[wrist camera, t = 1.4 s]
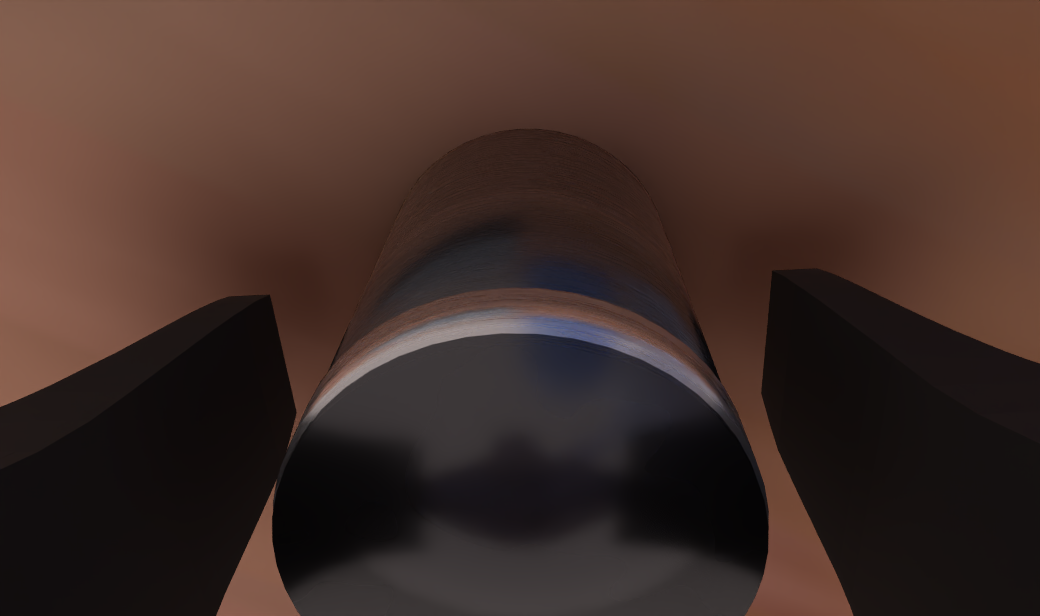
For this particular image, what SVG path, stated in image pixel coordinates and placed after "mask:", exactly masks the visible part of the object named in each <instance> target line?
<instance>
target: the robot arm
mask: <svg viewBox="0 0 1040 616" xmlns="http://www.w3.org/2000/svg"><path fill="white" fill-rule="evenodd" d="M761 394H762V397H763V401H764V405H765V408H766V412H767V415H768V419H769V422H770V426H771V429H772V432H773V435H774V438H775V442H776V445H777V448H778V451H779V453H780V455H781V457H782V460H783V462H784V464H785V466H786V468H787V470H788V473H789V475H790V477H791V479H792V481H793V483H794V485H795V488H796V490H797V492H798V494H799V496H800V498H801V500H802V502H803V505H804V507H805V509H806V511H807V513H808V515H809V517H810V519H811V521H812V523H813V525H814V528H815V530H816V532H817V534H818V536H819V538H820V540H821V542H822V544H823V546H824V548H825V551H826V553H827V555H828V557H829V559H830V561H831V563H832V565H833V567H834V569H835V572H836V574H837V576H838V578H839V580H840V583H841V585H842V588H843V590H844V592H845V595H846V597H847V600H848V602H849V604H850V607H851V610H852V613H853V615H854V616H1040V364H1039V363H1036V362H1033V361H1030V360H1027V359H1024V358H1022V357H1019V356H1016V355H1014V354H1011V353H1008V352H1005V351H1003V350H1000V349H998V348H995V347H993V346H990V345H988V344H985V343H983V342H981V341H978V340H976V339H973V338H971V337H969V336H966V335H964V334H961V333H959V332H956V331H954V330H952V329H950V328H947V327H945V326H943V325H941V324H938V323H936V322H934V321H932V320H930V319H927V318H925V317H923V316H921V315H919V314H917V313H915V312H912V311H910V310H908V309H906V308H904V307H902V306H900V305H898V304H896V303H894V302H892V301H890V300H887V299H885V298H883V297H881V296H879V295H877V294H875V293H873V292H871V291H869V290H867V289H865V288H863V287H861V286H859V285H856V284H854V283H852V282H850V281H848V280H846V279H843V278H841V277H839V276H837V275H834V274H832V273H829V272H826V271H823V270H820V269H796V270H775V271H772V280H771V291H770V302H769V313H768V325H767V336H766V347H765V358H764V369H763V380H762V391H761ZM296 413H297V412H296V408H295V403H294V399H293V395H292V390H291V386H290V381H289V377H288V373H287V368H286V364H285V359H284V355H283V350H282V346H281V342H280V337H279V333H278V328H277V324H276V320H275V315H274V311H273V306H272V302H271V298H270V295H252V296H231V297H226V298H223V299H220V300H217V301H215V302H213V303H210V304H208V305H206V306H204V307H202V308H200V309H198V310H196V311H193V312H191V313H190V314H188V315H186V316H184V317H182V318H180V319H178V320H176V321H174V322H172V323H171V324H169V325H167V326H165V327H163V328H161V329H159V330H158V331H156V332H154V333H152V334H150V335H148V336H146V337H145V338H143V339H141V340H139V341H137V342H135V343H133V344H131V345H130V346H128V347H126V348H124V349H122V350H120V351H118V352H117V353H115V354H113V355H111V356H109V357H107V358H105V359H103V360H101V361H99V362H97V363H95V364H93V365H90V366H88V367H86V368H84V369H82V370H80V371H78V372H76V373H74V374H72V375H70V376H68V377H66V378H64V379H62V380H60V381H58V382H56V383H54V384H52V385H50V386H48V387H46V388H44V389H41V390H39V391H37V392H35V393H33V394H30V395H28V396H26V397H23V398H21V399H19V400H17V401H14V402H12V403H9V404H7V405H4V406H2V407H0V616H216V615H217V612H218V610H219V607H220V605H221V602H222V600H223V597H224V595H225V592H226V590H227V588H228V586H229V584H230V581H231V579H232V577H233V575H234V573H235V571H236V568H237V566H238V564H239V562H240V560H241V557H242V555H243V553H244V551H245V549H246V546H247V544H248V542H249V540H250V538H251V535H252V533H253V531H254V529H255V527H256V525H257V522H258V520H259V518H260V516H261V514H262V511H263V509H264V507H265V505H266V502H267V500H268V498H269V496H270V493H271V491H272V489H273V487H274V484H275V482H276V480H277V477H278V474H279V471H280V468H281V465H282V462H283V460H284V457H285V454H286V451H287V447H288V444H289V440H290V436H291V432H292V428H293V424H294V420H295V417H296Z"/></svg>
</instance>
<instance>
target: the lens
mask: <svg viewBox="0 0 1040 616" xmlns="http://www.w3.org/2000/svg"><path fill="white" fill-rule="evenodd" d="M768 514H769V511H768V504H767V498H766V492H765V485H764V482H763V480H762V477H761V474H760V471H759V468H758V465H757V462H756V459H755V457H754V454H753V451H752V449H751V446H750V444H749V441H748V438H747V436H746V433H745V431H744V428H743V425H742V423H741V420H740V418H739V415H738V412H737V410H736V408H735V406H734V404H733V403H732V401H731V399H730V397H729V395H728V393H727V391H726V390H725V388H724V386H723V385H722V384H721V381H720V378H719V376H718V373H717V370H716V368H715V365H714V362H713V360H712V357H711V354H710V352H709V349H708V346H707V344H706V341H705V338H704V336H703V333H702V330H701V327H700V325H699V322H698V319H697V317H696V314H695V311H694V309H693V306H692V303H691V301H690V298H689V295H688V293H687V290H686V287H685V285H684V282H683V279H682V277H681V274H680V271H679V269H678V266H677V263H676V260H675V258H674V255H673V252H672V250H671V247H670V244H669V242H668V239H667V236H666V234H665V231H664V228H663V226H662V223H661V220H660V218H659V215H658V212H657V210H656V207H655V205H654V204H653V202H652V200H651V198H650V196H649V194H648V192H647V191H646V190H645V188H644V187H643V185H642V184H641V183H640V181H639V180H638V179H637V178H636V176H635V175H634V174H633V173H632V172H631V171H630V170H629V169H628V168H627V167H626V166H625V165H624V164H622V163H621V162H620V161H619V160H617V159H616V158H615V157H614V156H612V155H611V154H610V153H608V152H606V151H604V150H603V149H601V148H599V147H598V146H596V145H594V144H592V143H590V142H587V141H585V140H582V139H580V138H578V137H575V136H571V135H567V134H564V133H560V132H555V131H548V130H540V129H517V130H508V131H500V132H496V133H493V134H489V135H485V136H481V137H479V138H476V139H474V140H471V141H469V142H466V143H464V144H462V145H460V146H459V147H457V148H455V149H453V150H452V151H450V152H448V153H447V154H446V155H444V156H443V157H442V158H440V159H439V160H438V161H436V162H435V163H434V164H433V165H432V166H431V167H430V168H429V169H428V170H427V171H426V172H425V173H424V174H423V175H422V176H421V177H420V178H419V180H418V181H417V182H416V184H415V185H414V186H413V188H412V189H411V190H410V192H409V194H408V196H407V198H406V199H405V201H404V203H403V205H402V207H401V209H400V211H399V214H398V216H397V218H396V220H395V223H394V225H393V227H392V229H391V232H390V234H389V236H388V238H387V241H386V243H385V245H384V247H383V249H382V252H381V254H380V256H379V258H378V261H377V263H376V265H375V267H374V270H373V272H372V274H371V276H370V279H369V281H368V283H367V285H366V288H365V290H364V292H363V294H362V297H361V299H360V301H359V303H358V306H357V308H356V310H355V312H354V314H353V317H352V319H351V321H350V323H349V326H348V328H347V330H346V332H345V335H344V337H343V339H342V341H341V344H340V346H339V348H338V350H337V353H336V355H335V357H334V359H333V362H332V364H331V366H330V368H329V371H328V373H327V374H326V375H325V377H324V378H323V379H322V380H321V382H320V384H319V385H318V387H317V389H316V391H315V393H314V394H313V396H312V398H311V400H310V402H309V403H308V405H307V408H306V410H305V412H304V414H303V416H302V419H301V421H300V423H299V425H298V427H297V429H296V432H295V434H294V436H293V438H292V440H291V443H290V445H289V447H288V449H287V451H286V454H285V457H284V460H283V462H282V465H281V468H280V471H279V474H278V477H277V482H276V488H275V494H274V500H273V516H272V542H273V547H274V553H275V558H276V564H277V567H278V570H279V573H280V576H281V578H282V581H283V584H284V587H285V589H286V591H287V593H288V595H289V597H290V599H291V600H292V602H293V604H294V606H295V608H296V610H297V611H298V612H299V614H300V615H301V616H745V614H746V613H747V611H748V609H749V607H750V605H751V604H752V602H753V600H754V598H755V596H756V593H757V591H758V588H759V585H760V583H761V580H762V577H763V575H764V569H765V564H766V559H767V554H768V530H769V526H768Z"/></svg>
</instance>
